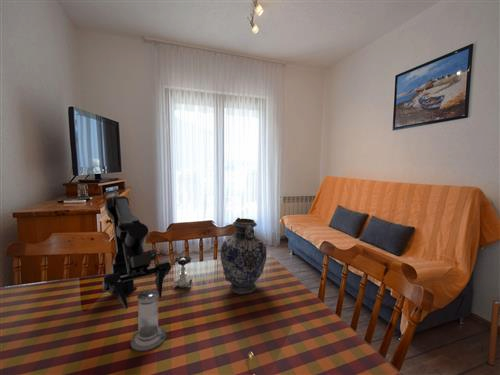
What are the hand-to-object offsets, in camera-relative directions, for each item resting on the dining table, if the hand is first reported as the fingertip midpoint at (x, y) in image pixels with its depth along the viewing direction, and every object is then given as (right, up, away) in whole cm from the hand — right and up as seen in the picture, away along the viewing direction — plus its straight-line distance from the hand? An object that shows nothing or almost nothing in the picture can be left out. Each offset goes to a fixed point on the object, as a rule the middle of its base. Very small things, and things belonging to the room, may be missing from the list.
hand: (144, 302), depth 67 cm
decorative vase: (+28, -7, +27) cm, 40 cm away
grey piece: (+2, -8, -3) cm, 8 cm away
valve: (+4, -7, +27) cm, 28 cm away
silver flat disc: (+3, -9, -3) cm, 10 cm away
